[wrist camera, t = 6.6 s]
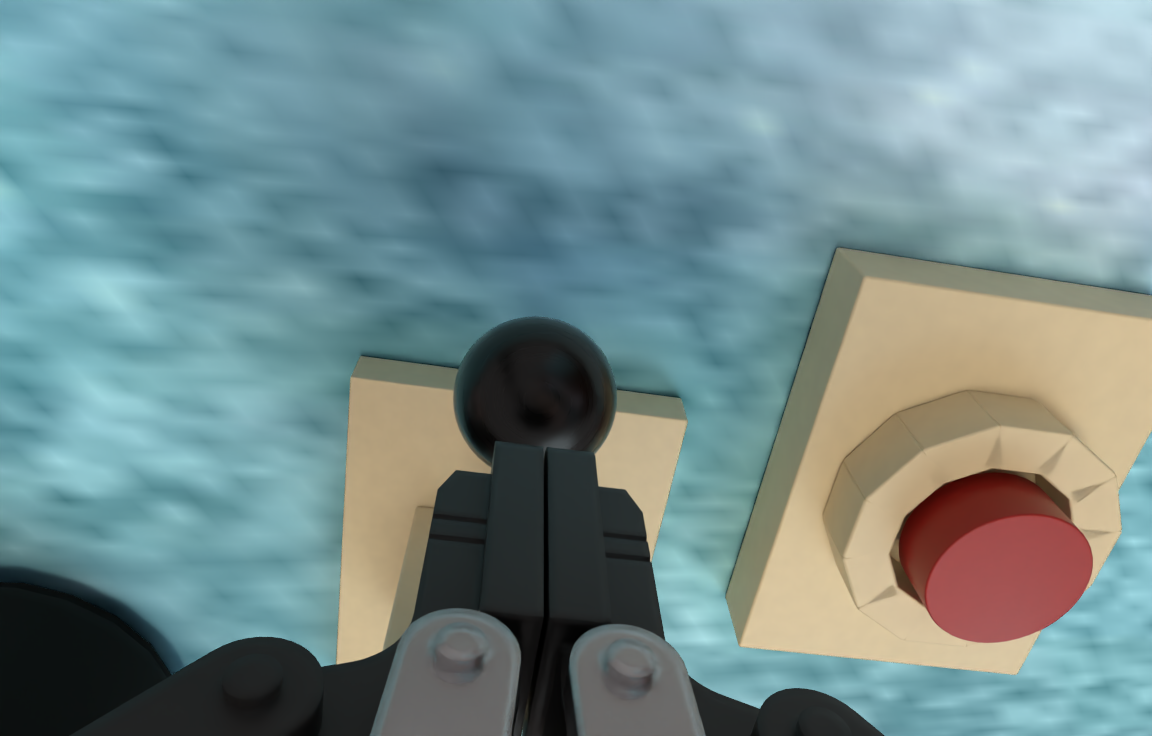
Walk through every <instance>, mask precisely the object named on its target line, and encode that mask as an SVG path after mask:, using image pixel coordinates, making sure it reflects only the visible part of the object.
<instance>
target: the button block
mask: <svg viewBox="0 0 1152 736" xmlns="http://www.w3.org/2000/svg"><path fill="white" fill-rule="evenodd" d="M1151 431H1152V295H1145V294H1139V293H1132V292H1126V291H1119V290H1113V289H1106V288H1100V287H1093V286H1087V285H1080V284H1074V283H1067V282H1061V281H1054V280H1048V279H1041V278H1035V277H1028V276H1022V275H1015V274H1009V273H1002V272H996V271H989V270H983V269H976V268H970V267H963V266H957V265H950V264H944V263H937V262H931V261H924V260H918V259H912V258H905V257H899V256H892V255H886V254H879V253H873V252H866V251H860V250H853V249H847V248H837V249H836V252H835V255H834V258H833V261H832V264H831V267H830V270H829V274H828V277H827V280H826V283H825V286H824V289H823V292H822V296H821V299H820V302H819V305H818V308H817V311H816V314H815V318H814V321H813V324H812V327H811V330H810V333H809V336H808V339H807V343H806V346H805V349H804V352H803V355H802V358H801V361H800V365H799V368H798V371H797V374H796V377H795V380H794V383H793V387H792V390H791V393H790V396H789V399H788V402H787V405H786V409H785V412H784V415H783V418H782V421H781V424H780V427H779V430H778V434H777V437H776V440H775V443H774V446H773V449H772V452H771V456H770V459H769V462H768V465H767V468H766V471H765V474H764V478H763V481H762V484H761V487H760V490H759V493H758V496H757V500H756V503H755V506H754V509H753V512H752V515H751V518H750V521H749V525H748V528H747V531H746V534H745V537H744V540H743V543H742V547H741V550H740V553H739V556H738V559H737V562H736V565H735V569H734V572H733V575H732V578H731V581H730V584H729V587H728V590H727V594H726V601H727V604H728V608H729V611H730V615H731V619H732V622H733V626H734V630H735V633H736V637H737V641H738V644H739V646H740V647H747V648H757V649H767V650H777V651H787V652H797V653H806V654H816V655H826V656H836V657H846V658H855V659H865V660H875V661H885V662H895V663H904V664H914V665H924V666H934V667H944V668H953V669H963V670H973V671H983V672H993V673H1003V674H1012V675H1016V674H1018V672H1019V670H1020V668H1021V667H1022V665H1023V663H1024V661H1025V659H1026V657H1027V656H1028V654H1029V652H1030V650H1031V648H1032V647H1033V645H1034V643H1035V641H1036V639H1037V638H1038V636H1039V634H1040V632H1041V630H1040V631H1038V632H1035V633H1033V634H1031V635H1028V636H1025V637H1022V638H1019V639H1015V640H1011V641H1005V642H998V643H977V642H971V641H966V640H963V639H959V638H957V637H955V636H952V635H950V634H949V633H947V632H945V631H944V630H942V629H941V628H940V627H939V626H938V625H937V624H936V623H935V622H934V621H933V620H932V618H931V617H930V615H929V613H928V611H927V610H926V608H925V606H924V604H923V603H922V601H921V599H920V597H919V596H918V594H917V592H916V590H915V589H914V587H913V585H912V583H911V582H910V580H909V578H908V576H907V575H906V573H905V571H904V569H903V568H902V565H901V562H900V558H899V540H900V535H901V532H902V529H903V527H904V525H905V523H906V521H907V519H908V518H909V516H910V515H911V513H912V512H913V511H914V509H915V508H916V507H917V506H918V505H919V504H920V503H921V502H922V501H924V500H925V499H926V498H927V497H928V496H930V495H931V494H932V493H933V492H934V491H936V490H937V489H939V488H941V487H942V486H944V485H946V484H948V483H950V482H952V481H955V480H957V479H960V478H963V477H967V476H970V475H974V474H980V473H989V472H1000V473H1009V474H1014V475H1018V476H1021V477H1024V478H1026V479H1028V480H1030V481H1032V482H1034V483H1035V484H1037V485H1038V486H1039V487H1040V488H1041V489H1042V490H1043V491H1044V492H1045V493H1046V494H1047V495H1048V496H1049V497H1050V498H1051V499H1052V500H1053V501H1054V502H1055V504H1056V505H1057V506H1058V507H1059V508H1060V509H1061V510H1062V511H1063V512H1064V513H1065V515H1066V516H1067V517H1068V518H1069V519H1070V520H1071V521H1072V522H1073V523H1074V524H1075V525H1076V527H1077V528H1078V529H1079V530H1080V531H1081V532H1082V533H1083V534H1084V536H1085V537H1086V539H1087V540H1088V542H1089V545H1090V547H1091V551H1092V556H1093V568H1092V574H1091V577H1090V580H1089V583H1088V585H1087V587H1086V589H1085V591H1086V590H1087V589H1088V588H1089V586H1091V585H1092V584H1093V582H1094V580H1095V578H1096V576H1097V575H1098V573H1099V571H1100V569H1101V568H1102V566H1103V564H1104V562H1105V561H1106V559H1107V557H1108V555H1109V554H1110V552H1111V550H1112V548H1113V547H1114V545H1115V543H1116V541H1117V540H1118V538H1119V536H1120V534H1121V530H1122V527H1121V516H1120V505H1119V494H1118V491H1119V489H1120V487H1121V485H1122V483H1123V482H1124V480H1125V478H1126V476H1127V474H1128V473H1129V471H1130V469H1131V467H1132V465H1133V463H1134V462H1135V460H1136V458H1137V456H1138V454H1139V453H1140V451H1141V449H1142V447H1143V445H1144V444H1145V442H1146V440H1147V438H1148V436H1149V434H1150V433H1151Z"/></svg>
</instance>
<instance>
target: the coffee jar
mask: <svg viewBox="0 0 1152 736" xmlns="http://www.w3.org/2000/svg"><path fill="white" fill-rule="evenodd" d="M169 676H171V674H170V672H169V671H168V669H167V668H166V666H165V665H164V663H163V662H162V660H161V659H160V657H159V656H158V654H157V653H156V651H155V650H154V648H153V647H152V646H151V644H150V643H148V642H147V641H146V640H145V639H144V638H142V637H141V636H140V635H139V634H137V633H136V632H135V631H134V630H133V629H131V628H130V627H129V626H128V625H127V624H125V623H124V622H123V621H122V620H120V619H119V618H118V617H117V616H115V615H113V614H111V613H109V612H107V611H105V610H102V609H100V608H98V607H96V606H94V605H92V604H90V603H88V602H86V601H84V600H82V599H80V598H78V597H76V596H74V595H71V594H67V593H63V592H59V591H55V590H50V589H46V588H42V587H38V586H34V585H30V584H26V583H7V582H0V736H70V735H71V734H73V733H75V732H76V731H78V730H80V729H82V728H83V727H85V726H87V725H88V724H90V723H92V722H93V721H95V720H97V719H98V718H100V717H102V716H104V715H105V714H107V713H109V712H110V711H112V710H114V709H115V708H117V707H119V706H120V705H122V704H124V703H125V702H127V701H129V700H131V699H132V698H134V697H136V696H137V695H139V694H141V693H142V692H144V691H146V690H147V689H149V688H151V687H153V686H154V685H156V684H158V683H159V682H161V681H163V680H164V679H166V678H168V677H169Z"/></svg>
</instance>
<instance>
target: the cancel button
mask: <svg viewBox="0 0 1152 736" xmlns="http://www.w3.org/2000/svg"><path fill="white" fill-rule="evenodd" d="M899 558H900V562H901V565H902V568H903V569H904V571H905V573H906V575H907V576H908V578H909V580H910V582H911V583H912V585H913V587H914V589H915V590H916V592H917V594H918V596H919V597H920V599H921V601H922V603H923V604H924V606H925V608H926V610H927V611H928V613H929V615H930V617H931V618H932V620H933V621H934V622H935V623H936V624H937V625H938V626H939V627H940V628H941V629H942V630H944V631H945V632H947V633H949V634H950V635H952V636H955V637H957V638H959V639H963V640H966V641H971V642H977V643H998V642H1005V641H1011V640H1015V639H1019V638H1022V637H1025V636H1028V635H1031V634H1033V633H1035V632H1038V631H1040V630H1042V629H1044V628H1045V627H1047V626H1049V625H1051V624H1052V623H1054V622H1055V621H1057V620H1058V619H1059V618H1061V617H1062V616H1063V615H1064V614H1066V613H1067V612H1068V611H1069V610H1070V609H1071V608H1072V607H1073V606H1074V605H1075V603H1076V602H1077V601H1078V600H1079V599H1080V597H1081V596H1082V594H1083V593H1084V591H1085V589H1086V587H1087V585H1088V583H1089V580H1090V577H1091V574H1092V568H1093V556H1092V551H1091V547H1090V545H1089V542H1088V540H1087V539H1086V537H1085V536H1084V534H1083V533H1082V532H1081V531H1080V530H1079V529H1078V528H1077V527H1076V525H1075V524H1074V523H1073V522H1072V521H1071V520H1070V519H1069V518H1068V517H1067V516H1066V515H1065V513H1064V512H1063V511H1062V510H1061V509H1060V508H1059V507H1058V506H1057V505H1056V504H1055V502H1054V501H1053V500H1052V499H1051V498H1050V497H1049V496H1048V495H1047V494H1046V493H1045V492H1044V491H1043V490H1042V489H1041V488H1040V487H1039V486H1038V485H1037V484H1035V483H1034V482H1032V481H1030V480H1028V479H1026V478H1024V477H1021V476H1018V475H1014V474H1009V473H1000V472H989V473H980V474H974V475H970V476H967V477H963V478H960V479H957V480H955V481H952V482H950V483H948V484H946V485H944V486H942V487H941V488H939V489H937V490H936V491H934V492H933V493H932V494H931V495H930V496H928V497H927V498H926V499H925V500H924V501H922V502H921V503H920V504H919V505H918V506H917V507H916V508H915V509H914V511H913V512H912V513H911V515H910V516H909V518H908V519H907V521H906V523H905V525H904V527H903V529H902V532H901V535H900V540H899Z"/></svg>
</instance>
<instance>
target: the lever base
mask: <svg viewBox="0 0 1152 736" xmlns="http://www.w3.org/2000/svg"><path fill="white" fill-rule="evenodd" d="M457 372H458V369H456V368H448V367H440V366H433V365H425V364H418V363H410V362H403V361H395V360H388V359H380V358H372V357H365V356H360V358H359V360H358V362H357V364H356V367H355V369H354V371H353V373H352V375H351V378H350V394H349V414H348V434H347V454H346V474H345V495H344V515H343V535H342V555H341V575H340V595H339V615H338V635H337V655H336V664H341V663H347V662H352V661H357V660H361V659H365V658H367V657H370V656H373V655H375V654H377V653H379V652H381V651H383V650H385V649H387V648H388V647H390V646H391V645H392V644H394V643H395V642H396V641H397V640H398V639H399V638H400V637H401V636H402V635H403V633H404V632H405V630H406V629H407V628H408V627H409V625H410V623H411V621H412V618H413V614H414V610H415V604H416V599H417V594H418V589H419V584H420V578H421V573H422V568H423V563H424V557H425V552H426V547H427V542H428V538H429V531H430V526H431V521H432V517H433V511H434V505H435V500H436V495H437V490H438V488H439V487H440V486H441V485H442V484H443V483H444V482H445V481H446V480H447V479H448V478H449V477H450V476H451V475H452V474H453V473H454V471H455V470H461V471H469V472H478V473H487V474H491V467H489V466H488V465H486V464H485V463H484V462H483V461H482V460H480V459H479V458H478V457H477V456H476V455H475V454H474V452H473V451H472V450H471V449H470V448H469V446H468V445H467V443H466V442H465V440H464V439H463V437H462V435H461V433H460V431H459V428H458V425H457V422H456V419H455V414H454V407H453V390H454V384H455V379H456V375H457ZM687 423H688V420H687V417H686V413H685V410H684V406H683V403H682V400H681V398H675V397H668V396H660V395H652V394H645V393H637V392H630V391H622V390H617V408H616V414H615V419H614V422H613V425H612V428H611V430H610V432H609V435H608V437H607V439H606V440H605V442H604V443H603V445H602V446H601V448H600V449H599V450H598V451H597V453H596V454H595V458H596V468H597V478H598V486H600V487H609V488H617V489H625V490H626V491H627V492H628V494H629V495H630V496H631V498H632V499H633V500H634V501H635V503H636V504H637V505H638V507H639V508H640V509H641V511H642V512H643V517H644V522H645V528H646V534H647V542H648V545H649V551H650V562H651V561H652V557H653V553H654V550H655V546H656V542H657V538H658V534H659V530H660V527H661V523H662V519H663V515H664V511H665V507H666V504H667V500H668V496H669V492H670V488H671V484H672V481H673V477H674V473H675V469H676V465H677V461H678V458H679V454H680V450H681V446H682V442H683V438H684V435H685V431H686V427H687Z"/></svg>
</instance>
